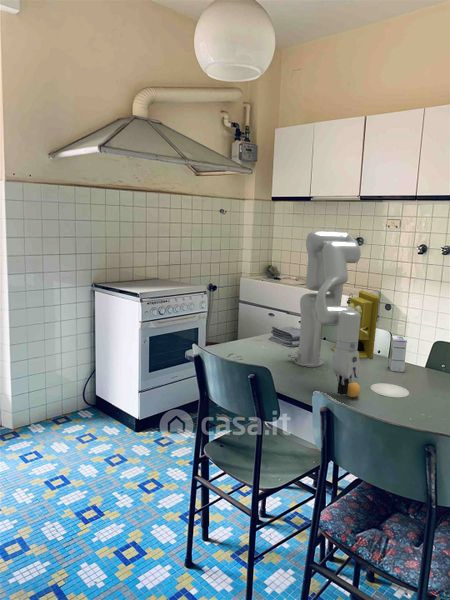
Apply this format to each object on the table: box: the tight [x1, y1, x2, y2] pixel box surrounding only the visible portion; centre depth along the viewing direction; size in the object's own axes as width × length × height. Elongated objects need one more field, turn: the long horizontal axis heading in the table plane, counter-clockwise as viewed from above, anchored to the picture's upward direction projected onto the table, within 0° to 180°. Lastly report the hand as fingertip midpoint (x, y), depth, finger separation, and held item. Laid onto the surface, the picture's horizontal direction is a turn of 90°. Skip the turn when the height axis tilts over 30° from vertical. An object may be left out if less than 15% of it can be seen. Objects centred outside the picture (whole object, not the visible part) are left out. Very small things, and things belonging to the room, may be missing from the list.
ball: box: [346, 381, 361, 398], centre depth 165 cm, size 6×6×6 cm
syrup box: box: [388, 335, 408, 373], centre depth 198 cm, size 6×6×14 cm
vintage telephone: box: [331, 289, 380, 360], centre depth 219 cm, size 31×14×30 cm, turn 9°
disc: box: [370, 382, 410, 399], centre depth 174 cm, size 14×14×1 cm
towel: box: [268, 325, 300, 348], centre depth 237 cm, size 15×18×8 cm
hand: (342, 393), depth 164 cm, fingers closed
